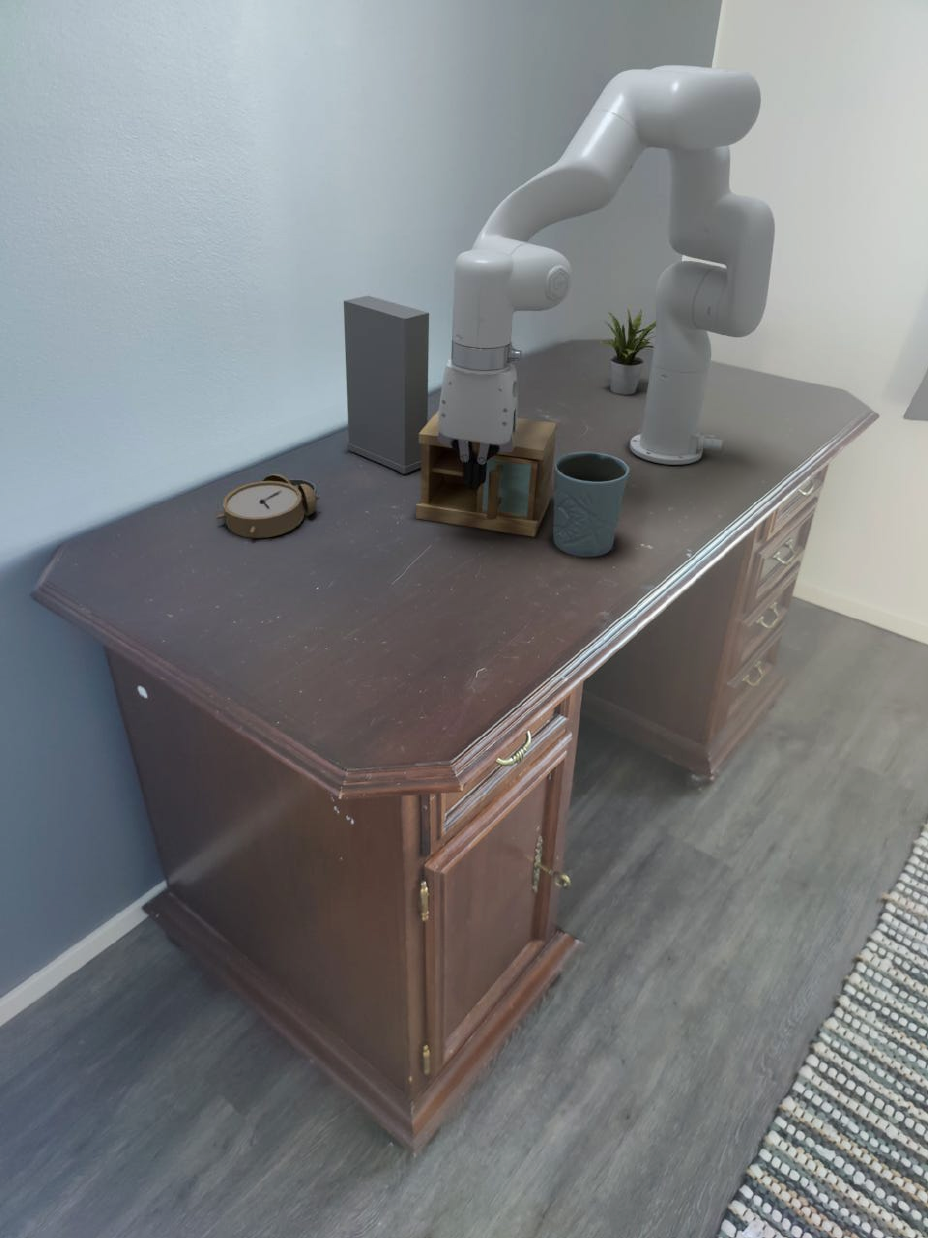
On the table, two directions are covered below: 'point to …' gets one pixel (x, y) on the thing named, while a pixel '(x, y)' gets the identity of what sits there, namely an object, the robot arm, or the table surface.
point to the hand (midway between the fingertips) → (474, 486)
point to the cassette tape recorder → (386, 380)
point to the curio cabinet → (458, 505)
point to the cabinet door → (508, 488)
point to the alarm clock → (269, 506)
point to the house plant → (627, 355)
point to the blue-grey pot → (587, 502)
